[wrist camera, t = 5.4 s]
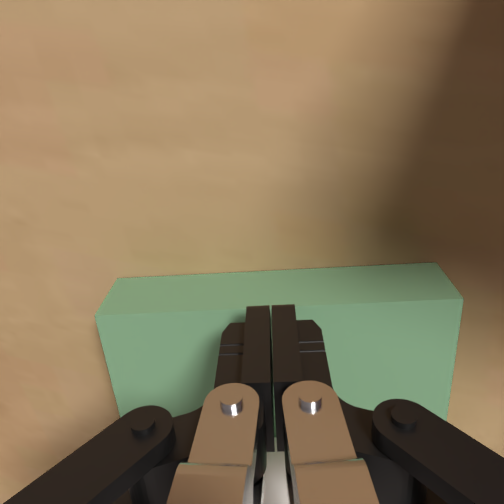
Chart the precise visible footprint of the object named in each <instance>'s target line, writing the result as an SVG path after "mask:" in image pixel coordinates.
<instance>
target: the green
mask: <svg viewBox="0 0 504 504" xmlns="http://www.w3.org/2000/svg"><path fill="white" fill-rule="evenodd" d="M463 300H464V298H463V297H462V296H461V294H460V293H459V292H458V290H457V289H456V288H455V286H454V285H453V284H452V282H451V281H450V280H449V278H448V277H447V276H446V274H445V273H444V272H443V270H442V269H441V268H440V266H439V265H438V264H437V262H433V263H413V264H393V265H373V266H353V267H333V268H314V269H294V270H274V271H254V272H234V273H214V274H194V275H175V276H155V277H135V278H117V280H116V281H115V283H114V285H113V286H112V288H111V290H110V291H109V293H108V294H107V296H106V298H105V299H104V301H103V303H102V304H101V306H100V307H99V309H98V311H97V312H96V314H95V320H96V324H97V328H98V331H99V335H100V339H101V343H102V347H103V351H104V355H105V359H106V363H107V367H108V371H109V375H110V379H111V383H112V386H113V390H114V394H115V398H116V402H117V406H118V410H119V414H120V418H121V417H122V416H123V415H125V414H126V413H128V412H129V411H131V410H133V409H136V408H138V407H142V406H148V405H155V406H160V407H163V408H165V409H166V410H168V411H169V412H170V414H171V416H172V417H176V416H179V415H183V414H186V413H189V412H192V411H194V410H196V409H198V408H200V407H201V406H203V404H204V401H205V398H206V396H207V395H208V394H209V393H210V392H211V391H212V390H213V389H214V383H215V376H216V369H217V363H218V356H219V349H220V342H221V336H222V332H223V331H224V330H225V329H226V327H227V326H228V325H229V324H230V323H240V322H245V318H246V307H247V306H264V305H270V320H271V338H272V305H286V304H295V312H296V320H314V322H315V323H316V324H317V325H318V326H319V327H320V328H321V329H322V335H323V340H324V345H325V352H326V356H327V361H328V366H329V371H330V376H331V382H332V386H333V389H334V391H335V392H336V394H337V395H338V397H340V398H341V399H342V400H343V401H345V402H346V403H348V404H350V405H353V406H355V407H359V408H363V409H367V410H372V411H374V409H375V407H376V406H377V405H378V404H380V403H381V402H383V401H386V400H389V399H405V400H410V401H413V402H415V403H418V404H420V405H421V406H423V407H425V408H426V409H428V410H429V411H431V412H432V413H434V414H436V415H437V416H439V417H440V418H442V419H443V420H445V421H446V420H447V413H448V406H449V399H450V392H451V384H452V377H453V370H454V363H455V356H456V349H457V342H458V335H459V328H460V321H461V314H462V307H463ZM272 357H273V348H272ZM273 397H274V386H273ZM274 437H276V421H275V404H274Z"/></svg>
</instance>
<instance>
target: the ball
mask: <svg viewBox="0 0 504 504" xmlns="http://www.w3.org/2000/svg"><path fill="white" fill-rule="evenodd" d="M274 442H275V452H267V466H266V471H265V489H264V501H263V504H289V500H288V492H287V485H286V472H285V453H284V451H283V452H277V438H276V437H274Z"/></svg>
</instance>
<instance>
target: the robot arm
mask: <svg viewBox="0 0 504 504" xmlns="http://www.w3.org/2000/svg"><path fill="white" fill-rule="evenodd" d="M272 348H273V357H272ZM273 386H274V397H273ZM274 404H275V421H276V438H277V452H283V451H284V453H285V472H286V485H287V492H288V500H289V504H504V458H503V457H502V456H500V455H498V454H497V453H495V452H494V451H492V450H491V449H489V448H487V447H486V446H484V445H483V444H481V443H480V442H478V441H476V440H475V439H473V438H472V437H470V436H469V435H467V434H465V433H464V432H462V431H461V430H459V429H458V428H456V427H454V426H453V425H451V424H450V423H448V422H447V421H445V420H443V419H442V418H440V417H439V416H437V415H436V414H434V413H432V412H431V411H429V410H428V409H426V408H425V407H423V406H421V405H420V404H418V403H415V402H413V401H410V400H405V399H389V400H386V401H383V402H381V403H380V404H378V405H377V406H376V407H375V409H374V411H372V410H367V409H363V408H359V407H355V406H353V405H350V404H348V403H346V402H345V401H343V400H342V399H341V398H340V397H338V395H337V394H336V392H335V391H334V389H333V386H332V382H331V376H330V371H329V366H328V361H327V356H326V352H325V345H324V340H323V335H322V329H321V328H320V327H319V326H318V325H317V324H316V323H315V322H314V320H296V312H295V304H286V305H272V338H271V320H270V305H264V306H247V307H246V318H245V322H240V323H230V324H229V325H228V326H227V327H226V329H225V330H224V331H223V332H222V336H221V342H220V349H219V356H218V363H217V369H216V376H215V383H214V389H213V390H212V391H211V392H210V393H209V394H208V395H207V396H206V398H205V401H204V404H203V406H201V407H200V408H198V409H196V410H194V411H192V412H189V413H186V414H183V415H179V416H176V417H172V416H171V414H170V412H169V411H168V410H166V409H165V408H163V407H160V406H155V405H148V406H142V407H138V408H136V409H133V410H131V411H129V412H128V413H126V414H125V415H123V416H122V417H121V418H119V419H118V420H117V421H115V422H114V423H113V424H111V425H110V426H108V427H107V428H106V429H104V430H103V431H102V432H100V433H99V434H98V435H96V436H95V437H93V438H92V439H91V440H89V441H88V442H87V443H85V444H84V445H82V446H81V447H80V448H78V449H77V450H76V451H74V452H73V453H72V454H70V455H69V456H67V457H66V458H65V459H63V460H62V461H61V462H59V463H58V464H57V465H55V466H54V467H52V468H51V469H50V470H48V471H47V472H46V473H44V474H43V475H41V476H40V477H39V478H37V479H36V480H35V481H33V482H32V483H31V484H29V485H28V486H26V487H25V488H24V489H22V490H21V491H20V492H18V493H17V494H16V495H14V496H13V497H11V498H10V499H9V500H7V501H6V502H5V503H3V504H263V501H264V489H265V471H266V466H267V452H275V442H274Z"/></svg>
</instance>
